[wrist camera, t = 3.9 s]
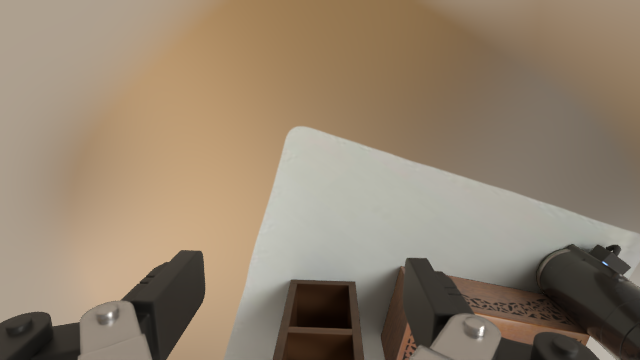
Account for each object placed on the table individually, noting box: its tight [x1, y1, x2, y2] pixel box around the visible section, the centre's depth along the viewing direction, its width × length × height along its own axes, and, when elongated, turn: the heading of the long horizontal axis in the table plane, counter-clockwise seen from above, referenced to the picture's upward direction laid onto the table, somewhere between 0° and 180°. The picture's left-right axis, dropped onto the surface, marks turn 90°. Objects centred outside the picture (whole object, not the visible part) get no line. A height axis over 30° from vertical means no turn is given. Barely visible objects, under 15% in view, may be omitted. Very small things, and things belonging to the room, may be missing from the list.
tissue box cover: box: [381, 266, 590, 360], centre depth 55 cm, size 26×14×10 cm, turn 79°
